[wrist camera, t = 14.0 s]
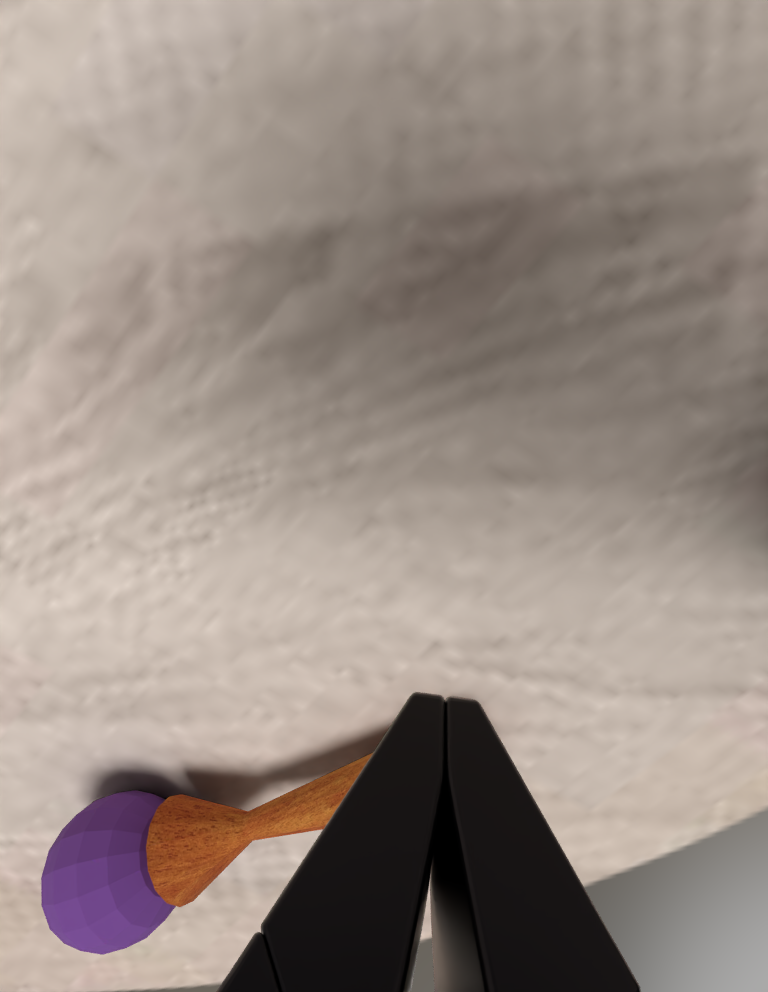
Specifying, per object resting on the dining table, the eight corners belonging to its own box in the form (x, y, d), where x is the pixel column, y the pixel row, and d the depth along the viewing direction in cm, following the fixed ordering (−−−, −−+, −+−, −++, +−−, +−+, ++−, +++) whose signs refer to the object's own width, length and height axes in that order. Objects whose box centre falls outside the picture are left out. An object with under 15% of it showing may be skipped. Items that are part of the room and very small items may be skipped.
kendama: (521, 872, 21) (84, 988, 25) (489, 729, 26) (131, 844, 30) (461, 790, 18) (-22, 936, 22) (439, 646, 23) (49, 786, 27)
